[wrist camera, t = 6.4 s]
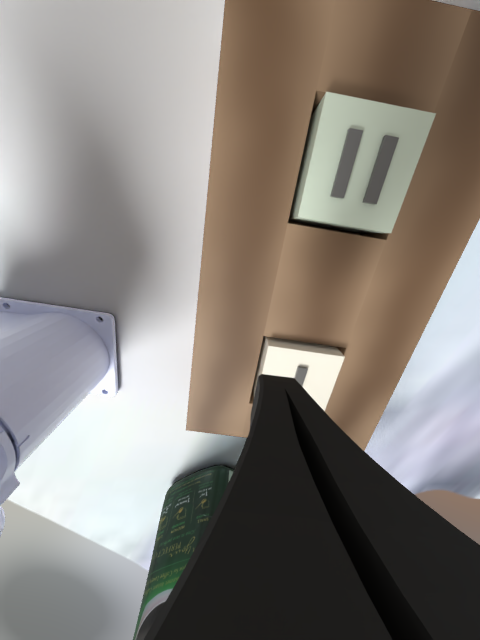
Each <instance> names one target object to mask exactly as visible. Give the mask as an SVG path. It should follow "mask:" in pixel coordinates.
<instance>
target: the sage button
mask: <svg viewBox="0 0 480 640" xmlns="http://www.w3.org/2000/svg"><path fill="white" fill-rule="evenodd" d="M435 115H436V113H431V112H426V111H421V110H416V109H411V108H406V107H401V106H396V105H391V104H386V103H381V102H376V101H371V100H366V99H361V98H356V97H351V96H346V95H341V94H336V93H331V92H326V93H325V95H324V96H323V98H322V100H321V101H320V103H319V105H318V106H317V108H316V110H315V111H314V113H313V115H312V116H311V118H310V122H309V127H308V131H307V136H306V141H305V145H304V150H303V155H302V159H301V164H300V169H299V173H298V178H297V183H296V187H295V192H294V196H293V201H292V206H291V210H290V215H289V220H288V221H292V222H298V223H304V224H310V225H316V226H321V227H327V228H333V229H339V230H345V231H350V232H356V233H392V230H393V227H394V225H395V222H396V219H397V217H398V214H399V211H400V209H401V206H402V203H403V200H404V198H405V195H406V192H407V190H408V187H409V184H410V182H411V179H412V176H413V174H414V171H415V168H416V166H417V163H418V160H419V158H420V155H421V152H422V150H423V147H424V144H425V142H426V139H427V136H428V134H429V131H430V128H431V126H432V123H433V120H434V118H435Z"/></svg>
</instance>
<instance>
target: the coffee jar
mask: <svg viewBox="0 0 480 640" xmlns="http://www.w3.org/2000/svg"><path fill="white" fill-rule="evenodd" d="M233 472H234V470H233V469H231V468H228V467H225V466H213V467H210V468H207V469H203V470H201V471H198V472H196V473H193V474H191V475H189V476H187V477H185V478H183V479H181V480H179V481H178V482H176V483H175V484H173V485H172V486H171V487H170V488H169V490H168V491H167V493H166V496H165V500H164V504H163V508H162V512H161V517H160V521H159V526H158V531H157V535H156V540H155V546H154V550H153V555H152V560H151V564H150V569H149V574H148V578H147V582H146V587H145V591H144V595H143V599H142V604H141V608H140V612H139V616H138V621H137V625H136V630H135V633H134V637H133V640H144V638H145V636H146V635H147V633H148V631H149V629H150V628H151V626H152V624H153V622H154V621H155V619H156V617H157V615H158V614H159V612H160V610H161V608H162V607H163V605H164V603H165V601H166V600H167V598H168V596H169V595H170V593H171V591H172V589H173V588H174V586H175V584H176V582H177V581H178V579H179V577H180V575H181V574H182V572H183V570H184V568H185V567H186V565H187V563H188V561H189V559H190V557H191V556H192V554H193V552H194V550H195V548H196V546H197V544H198V542H199V541H200V539H201V537H202V535H203V533H204V531H205V529H206V527H207V525H208V523H209V521H210V519H211V518H212V516H213V514H214V512H215V510H216V508H217V506H218V504H219V502H220V500H221V498H222V496H223V494H224V491H225V489H226V487H227V485H228V483H229V481H230V478H231V476H232V474H233Z"/></svg>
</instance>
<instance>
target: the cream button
mask: <svg viewBox="0 0 480 640" xmlns="http://www.w3.org/2000/svg"><path fill="white" fill-rule="evenodd" d="M344 358H345V356H344V355H343V354H342V353H341V352H340V350H339V349H338V348H337V347H336V346H329V345H322V344H315V343H308V342H302V341H295V340H288V339H281V338H274V337H268V336H263V341H262V345H261V350H260V355H259V359H258V364H257V369H256V373H255V378H254V383H253V394H254V395H255V390H256V385H257V380H258V376H260V375H261V374H266V375H274V376H282V377H290V378H295V379H296V380H297V381H298V383H299V384H300V385H301V386H302V387H303V388H304V389H305V390H306V391H307V393H308V394H309V395H310V396H311V397H312V398H313V399H314V400H315V402H316V403H317V404H318V405H319V406H320V407H321V408H322V409H323V410H324V411H325V409H326V406H327V403H328V401H329V398H330V395H331V393H332V390H333V387H334V385H335V382H336V379H337V377H338V374H339V371H340V369H341V366H342V363H343V361H344Z"/></svg>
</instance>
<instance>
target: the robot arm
mask: <svg viewBox="0 0 480 640" xmlns="http://www.w3.org/2000/svg"><path fill="white" fill-rule="evenodd" d="M8 304H9V305H10V306H9V305H8ZM99 317H101V318H102V319H103V321H102V320H100V319H99ZM106 390H107V391H106ZM117 393H118V375H117V355H116V335H115V319H114V317H113V315H111V314H109V313H104V312H97V311H90V310H84V309H77V308H70V307H63V306H56V305H50V304H43V303H36V302H29V301H22V300H16V299H9V298H2V297H0V536H1V534H2V531H3V527H4V523H5V513H4V510H3V508H2V507H1V505H2V504H3V503H4V501H5V500H6V499H7V498H8V497H9V496H10V495H11V494H12V492H13V491H14V490H15V489H16V488H17V487H18V486H19V484H20V482H19V481H18V479H17V478H16V476H15V473H14V471H15V470H16V469H17V468H18V467H19V466H20V465H21V464H22V463H23V462H24V461H25V460H26V459H27V458H28V457H29V456H30V455H31V454H32V453H33V452H34V451H35V449H36V448H37V447H38V446H39V445H40V444H41V443H42V442H43V441H44V440H45V439H46V438H47V437H48V436H49V435H50V434H51V433H52V432H53V431H54V430H55V428H56V427H57V426H58V425H59V424H60V423H61V422H62V421H63V420H64V419H65V418H66V417H67V416H68V415H69V414H70V413H71V412H72V411H73V410H74V409H75V408H76V406H77V405H78V404H79V403H80V402H81V401H82V400H83V399H84V398H85V397H86V396H87V395H88V394H95V395H102V396H110V397H114V396H115V395H116V394H117ZM144 640H480V545H479V544H477V543H476V542H475V541H473V540H472V539H471V538H469V537H468V536H466V535H465V534H464V533H462V532H461V531H460V530H458V529H457V528H456V527H454V526H453V525H452V524H451V523H449V522H448V521H447V520H446V519H444V518H443V517H442V516H440V515H439V514H438V513H437V512H435V511H434V510H433V509H431V508H430V507H429V506H428V505H426V504H425V503H424V502H423V501H421V500H420V499H419V498H417V497H416V496H415V495H414V494H413V493H411V492H410V491H409V490H408V489H407V488H405V487H404V486H403V485H402V484H401V483H399V482H398V481H397V480H396V479H395V478H394V477H392V476H391V475H390V474H389V473H388V472H387V471H386V470H384V469H383V468H382V467H381V466H380V465H379V464H377V463H376V462H375V461H374V460H373V459H372V458H371V457H370V456H369V455H368V454H366V453H365V452H364V451H363V450H362V449H361V448H360V447H359V446H358V445H357V444H356V443H355V442H354V441H353V440H352V439H351V438H350V437H349V436H348V435H347V434H346V433H345V432H344V431H343V430H342V429H341V428H340V427H339V426H338V425H337V424H336V423H335V422H334V421H333V420H332V419H331V418H330V417H329V416H328V415H327V414H326V413H325V411H324V410H323V409H322V408H321V407H320V406H319V405H318V404H317V403H316V402H315V400H314V399H313V398H312V397H311V396H310V395H309V394H308V393H307V391H306V390H305V389H304V388H303V387H302V386H301V385H300V384H299V383H298V381H297V380H296V379H295V378H290V377H282V376H274V375H266V374H261V375H260V376H258V380H257V385H256V390H255V395H254V400H253V405H252V410H251V417H250V431H249V434H248V437H247V440H246V442H245V445H244V448H243V450H242V453H241V455H240V458H239V460H238V463H237V465H236V467H235V469H234V472H233V474H232V476H231V478H230V481H229V483H228V485H227V487H226V489H225V491H224V494H223V496H222V498H221V500H220V502H219V504H218V506H217V508H216V510H215V512H214V514H213V516H212V518H211V519H210V521H209V523H208V525H207V527H206V529H205V531H204V533H203V535H202V537H201V539H200V541H199V542H198V544H197V546H196V548H195V550H194V552H193V554H192V556H191V557H190V559H189V561H188V563H187V565H186V567H185V568H184V570H183V572H182V574H181V575H180V577H179V579H178V581H177V582H176V584H175V586H174V588H173V589H172V591H171V593H170V595H169V596H168V598H167V600H166V601H165V603H164V605H163V607H162V608H161V610H160V612H159V614H158V615H157V617H156V619H155V621H154V622H153V624H152V626H151V628H150V629H149V631H148V633H147V635H146V636H145V638H144Z"/></svg>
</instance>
